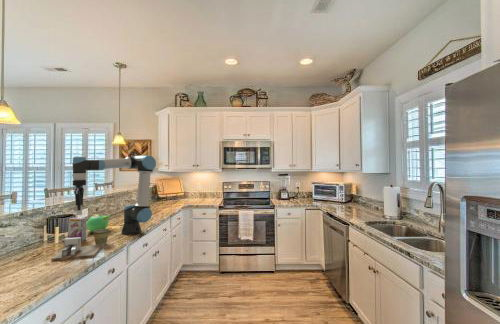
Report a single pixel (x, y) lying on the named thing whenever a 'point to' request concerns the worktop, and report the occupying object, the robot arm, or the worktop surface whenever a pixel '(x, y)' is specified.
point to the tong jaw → (74, 249)
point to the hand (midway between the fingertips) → (79, 214)
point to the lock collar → (72, 242)
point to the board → (77, 253)
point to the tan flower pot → (101, 236)
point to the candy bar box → (77, 228)
